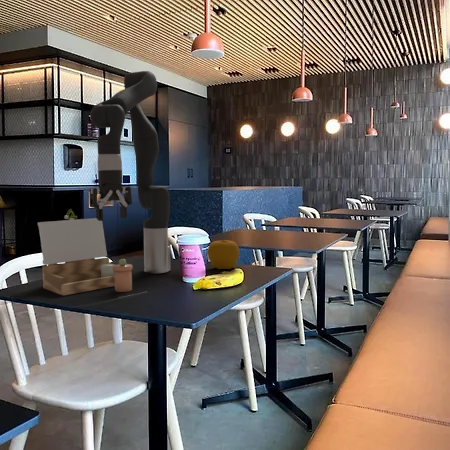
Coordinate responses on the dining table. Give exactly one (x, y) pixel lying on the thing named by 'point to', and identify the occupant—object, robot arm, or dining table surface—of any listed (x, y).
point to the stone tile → (132, 294)
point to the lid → (72, 240)
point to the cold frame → (76, 276)
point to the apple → (223, 254)
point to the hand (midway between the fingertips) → (111, 219)
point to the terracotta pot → (123, 276)
